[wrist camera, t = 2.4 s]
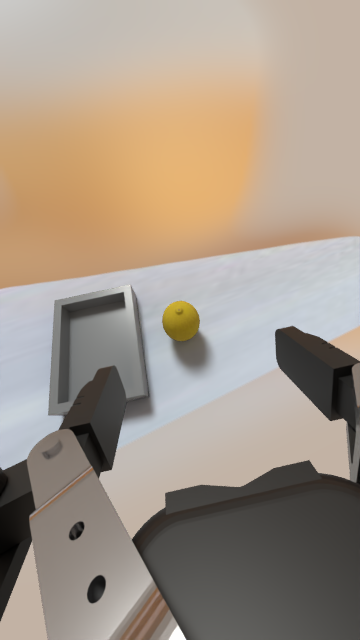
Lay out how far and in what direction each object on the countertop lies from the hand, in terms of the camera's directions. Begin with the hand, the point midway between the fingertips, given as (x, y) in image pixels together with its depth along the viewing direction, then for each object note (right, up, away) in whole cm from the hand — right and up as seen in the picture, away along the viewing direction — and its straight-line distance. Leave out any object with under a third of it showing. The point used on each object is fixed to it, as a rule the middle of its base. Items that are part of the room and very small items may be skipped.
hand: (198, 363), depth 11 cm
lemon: (0, 0, +25) cm, 25 cm away
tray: (-14, -3, +25) cm, 28 cm away
